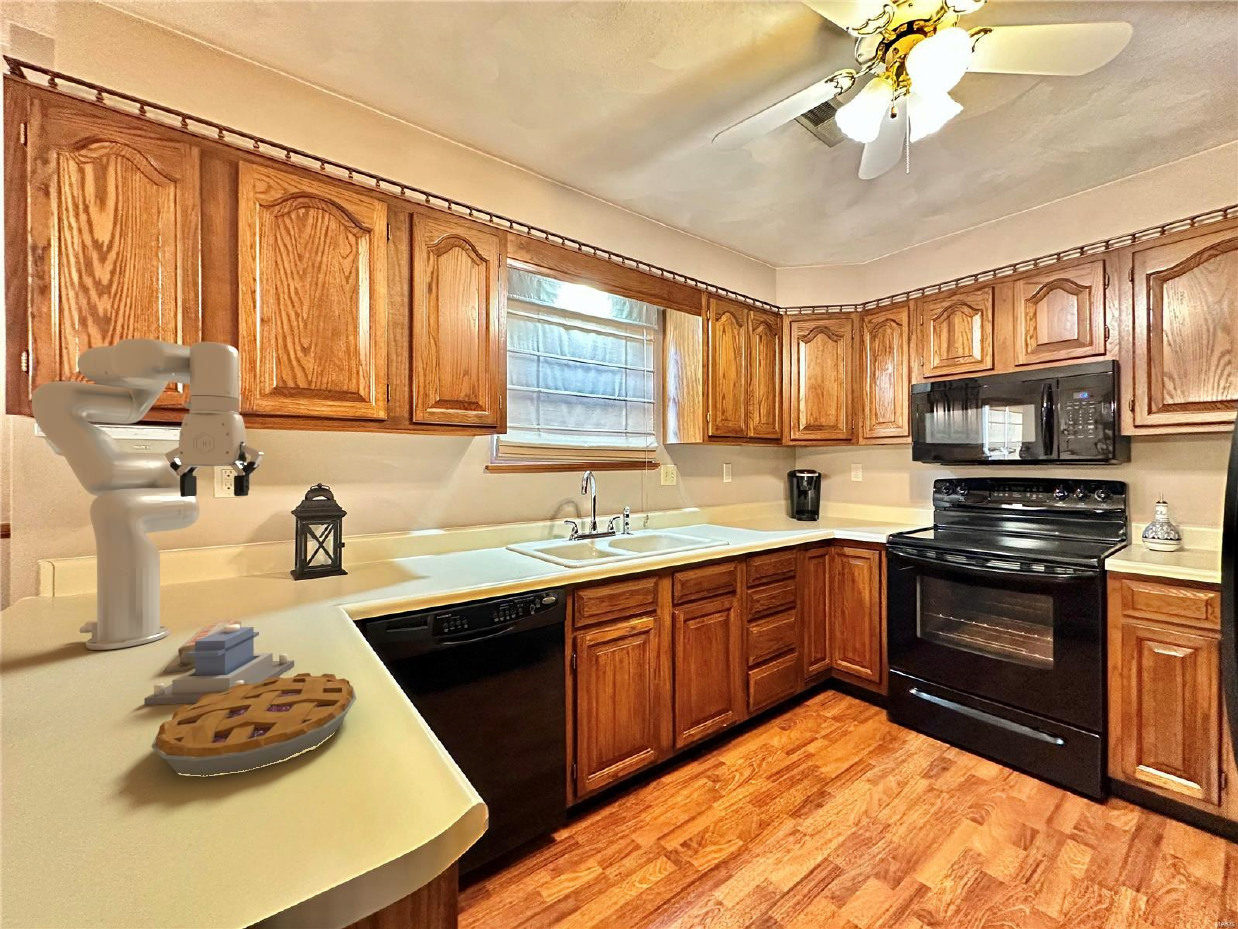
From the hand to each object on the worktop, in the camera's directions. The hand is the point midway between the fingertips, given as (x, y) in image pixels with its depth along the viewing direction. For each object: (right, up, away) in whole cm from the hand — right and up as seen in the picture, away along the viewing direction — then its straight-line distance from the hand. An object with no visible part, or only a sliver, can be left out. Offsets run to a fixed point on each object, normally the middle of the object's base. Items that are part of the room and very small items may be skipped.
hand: (215, 496), depth 99 cm
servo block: (+13, -29, -14) cm, 35 cm away
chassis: (+13, -30, -14) cm, 36 cm away
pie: (+31, -30, -31) cm, 53 cm away
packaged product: (-1, -31, 0) cm, 31 cm away
